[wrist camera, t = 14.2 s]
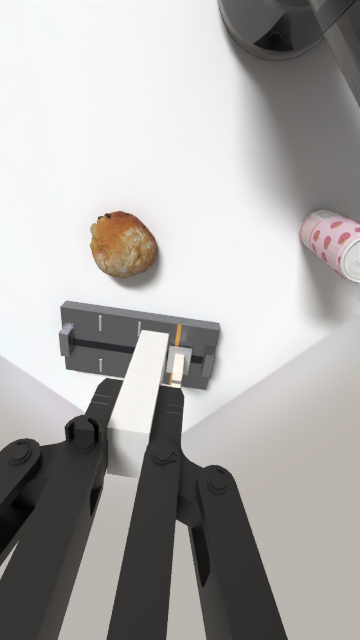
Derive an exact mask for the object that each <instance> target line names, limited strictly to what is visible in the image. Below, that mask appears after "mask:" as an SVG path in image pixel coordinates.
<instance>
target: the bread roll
mask: <svg viewBox="0 0 360 640" xmlns="http://www.w3.org/2000/svg"><path fill="white" fill-rule="evenodd" d="M90 229H91V233H92V236H93V237H92V241H91V244H90V247H91V250H92V254H93V257H94V260H95V262H96V264H97V266H98V267H99V268H100V269H101V270H102V271H103V272H104V273H106V274H108V275H111V276H114V277H120V278H126V277H130V276H131V275H135V274H137V273H140V272H143V271H146V270H147V269H148V268H149V267H150V266H151V265H152V264H153V262H154V260H155V257H156V251H157V248H156V241H155V239H154V236H153V235H152V233H151V232H150V231H149V230H148V228H146V226H145V225H144V224H143V223H142V222H141V221H140V220H139V219H138V218H137V217H135V216H134V215H132V214H130V213H125V212H122V211H118V212H113V213H109V214H107V213H106V214H105V215H104V216H100V217H98V220H97V224H92V226H91V227H90Z"/></svg>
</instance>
